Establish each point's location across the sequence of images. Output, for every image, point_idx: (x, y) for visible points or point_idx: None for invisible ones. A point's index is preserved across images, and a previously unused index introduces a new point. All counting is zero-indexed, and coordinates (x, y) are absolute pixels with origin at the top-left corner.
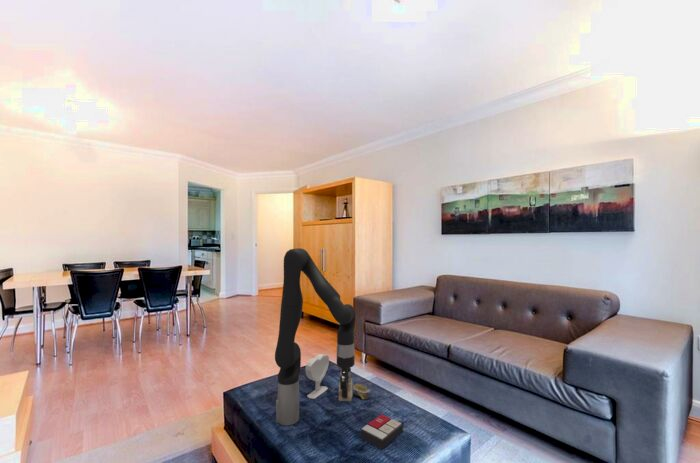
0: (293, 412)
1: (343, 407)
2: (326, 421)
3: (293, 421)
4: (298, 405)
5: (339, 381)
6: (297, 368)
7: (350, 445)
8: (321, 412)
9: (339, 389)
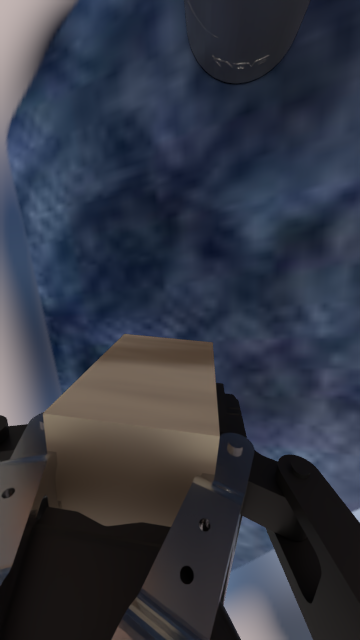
0: (199, 5)
1: (339, 300)
2: (229, 236)
3: (199, 54)
4: (247, 8)
5: (96, 421)
6: None
7: (99, 339)
8: (303, 197)
9: (87, 378)
